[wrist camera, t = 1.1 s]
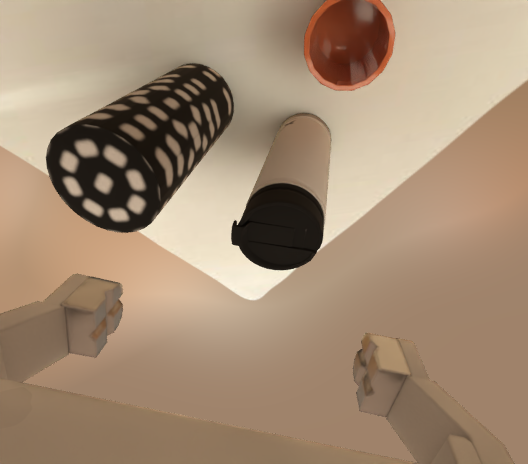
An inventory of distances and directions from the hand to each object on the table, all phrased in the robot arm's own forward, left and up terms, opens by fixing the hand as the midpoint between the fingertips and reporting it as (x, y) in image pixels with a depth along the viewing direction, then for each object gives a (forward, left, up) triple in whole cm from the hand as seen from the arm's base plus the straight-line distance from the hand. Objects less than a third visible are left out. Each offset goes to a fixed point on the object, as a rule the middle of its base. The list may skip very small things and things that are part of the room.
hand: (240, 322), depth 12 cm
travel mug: (+6, -1, -32) cm, 33 cm away
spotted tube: (+2, -13, -32) cm, 35 cm away
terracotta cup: (-5, +3, -32) cm, 33 cm away
